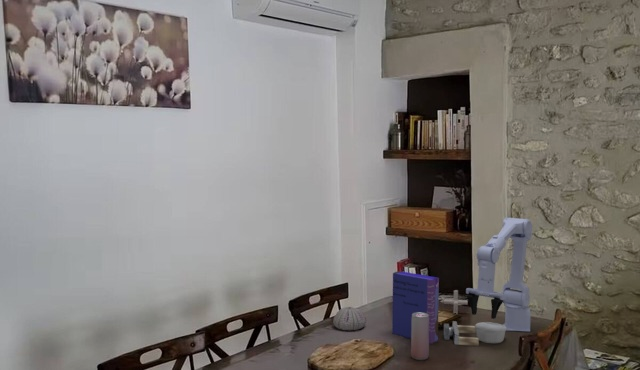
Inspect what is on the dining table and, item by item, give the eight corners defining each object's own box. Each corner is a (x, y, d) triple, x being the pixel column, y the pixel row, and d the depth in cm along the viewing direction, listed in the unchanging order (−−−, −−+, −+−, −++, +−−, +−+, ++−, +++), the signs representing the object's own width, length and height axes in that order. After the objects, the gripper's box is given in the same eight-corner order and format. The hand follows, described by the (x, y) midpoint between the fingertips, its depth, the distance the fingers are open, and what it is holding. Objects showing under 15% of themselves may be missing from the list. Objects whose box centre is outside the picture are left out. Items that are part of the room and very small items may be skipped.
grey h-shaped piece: (456, 331, 240) (456, 320, 240) (458, 344, 224) (459, 332, 224) (443, 330, 241) (443, 319, 241) (444, 343, 225) (445, 332, 225)
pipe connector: (467, 317, 260) (468, 294, 259) (443, 316, 262) (444, 292, 261) (467, 311, 269) (467, 288, 269) (443, 309, 271) (444, 287, 271)
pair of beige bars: (474, 332, 239) (474, 326, 239) (478, 345, 223) (478, 339, 223) (456, 331, 240) (456, 325, 240) (458, 344, 224) (458, 337, 224)
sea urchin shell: (373, 328, 245) (373, 308, 244) (346, 334, 237) (347, 314, 236) (351, 320, 255) (351, 301, 255) (325, 326, 247) (325, 306, 247)
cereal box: (437, 340, 229) (438, 277, 227) (430, 344, 225) (431, 279, 224) (399, 331, 241) (400, 270, 239) (392, 333, 237) (392, 272, 235)
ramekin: (506, 337, 234) (506, 323, 233) (505, 346, 223) (505, 331, 223) (476, 334, 237) (476, 320, 237) (473, 342, 227) (473, 328, 226)
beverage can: (409, 354, 214) (409, 312, 213) (426, 354, 214) (426, 312, 213) (413, 360, 208) (413, 317, 207) (430, 360, 208) (431, 316, 207)
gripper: (463, 277, 226) (460, 313, 226) (500, 283, 217) (497, 321, 217) (472, 275, 232) (469, 311, 231) (508, 281, 222) (506, 319, 222)
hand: (483, 316), depth 224 cm, fingers open, 7 cm apart
